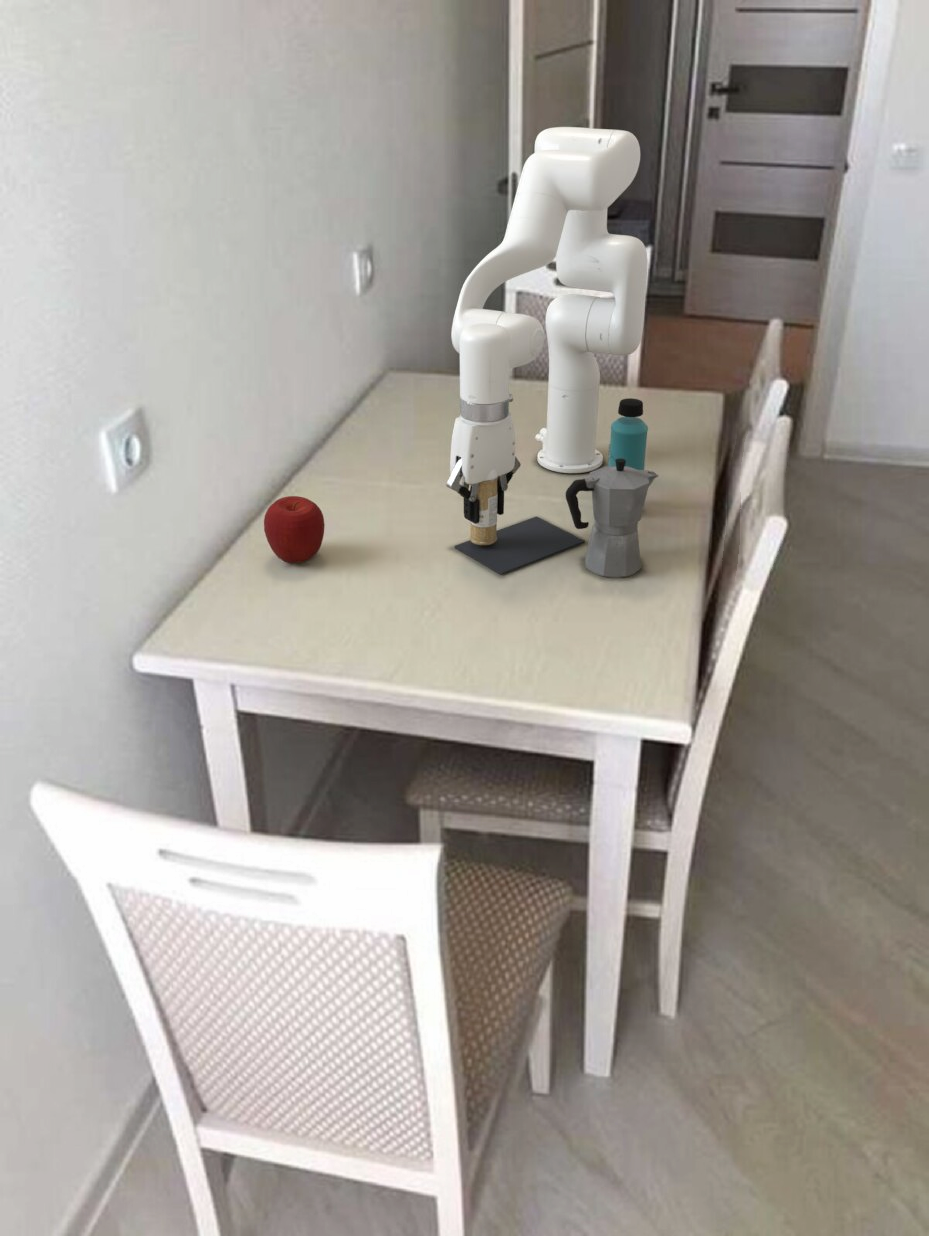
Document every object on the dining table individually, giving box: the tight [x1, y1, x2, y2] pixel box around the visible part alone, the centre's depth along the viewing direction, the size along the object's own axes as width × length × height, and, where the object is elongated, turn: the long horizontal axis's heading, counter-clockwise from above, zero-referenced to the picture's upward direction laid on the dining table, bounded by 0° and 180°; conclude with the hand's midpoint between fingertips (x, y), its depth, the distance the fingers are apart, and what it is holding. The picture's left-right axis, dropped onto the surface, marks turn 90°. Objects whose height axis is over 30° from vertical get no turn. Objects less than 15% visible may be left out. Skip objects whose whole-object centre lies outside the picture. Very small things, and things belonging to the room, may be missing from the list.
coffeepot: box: [565, 458, 659, 579], centre depth 163 cm, size 15×9×18 cm, turn 110°
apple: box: [263, 495, 326, 564], centre depth 168 cm, size 10×10×10 cm
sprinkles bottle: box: [469, 470, 498, 545], centre depth 170 cm, size 5×5×13 cm
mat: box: [454, 516, 586, 576], centre depth 174 cm, size 12×18×1 cm, turn 128°
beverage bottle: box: [607, 397, 649, 470], centre depth 181 cm, size 6×7×20 cm
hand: (483, 515), depth 171 cm, fingers closed on sprinkles bottle, 4 cm apart
